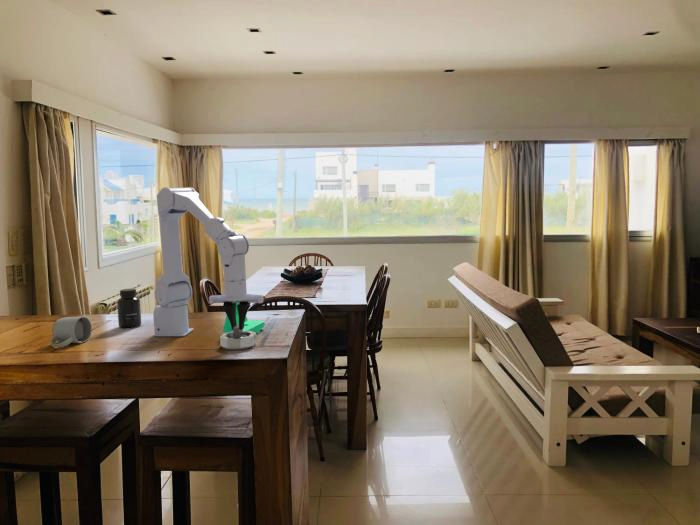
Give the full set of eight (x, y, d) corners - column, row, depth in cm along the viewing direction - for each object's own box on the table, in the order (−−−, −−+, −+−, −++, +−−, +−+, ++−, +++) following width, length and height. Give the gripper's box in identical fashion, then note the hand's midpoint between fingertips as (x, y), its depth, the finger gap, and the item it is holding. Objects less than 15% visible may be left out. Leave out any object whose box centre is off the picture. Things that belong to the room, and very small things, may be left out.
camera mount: (247, 339, 157) (245, 304, 156) (223, 338, 159) (221, 303, 158) (266, 329, 168) (264, 296, 167) (243, 328, 171) (242, 295, 169)
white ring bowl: (217, 350, 147) (216, 339, 146) (227, 340, 156) (227, 330, 155) (250, 350, 146) (249, 339, 145) (258, 340, 155) (258, 330, 154)
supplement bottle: (131, 329, 172) (128, 292, 170) (114, 328, 174) (111, 291, 172) (146, 324, 178) (143, 288, 177) (129, 323, 180) (126, 287, 179)
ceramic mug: (69, 338, 163) (66, 313, 162) (93, 339, 162) (90, 313, 160) (43, 349, 153) (39, 322, 152) (68, 350, 151) (65, 323, 150)
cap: (226, 343, 148) (225, 328, 148) (232, 338, 153) (231, 324, 153) (245, 343, 148) (244, 328, 147) (250, 338, 153) (249, 324, 152)
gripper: (204, 282, 145) (207, 332, 147) (257, 282, 144) (260, 332, 145) (212, 278, 152) (215, 326, 154) (264, 277, 151) (266, 325, 152)
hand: (237, 328), depth 150 cm, fingers closed on cap
